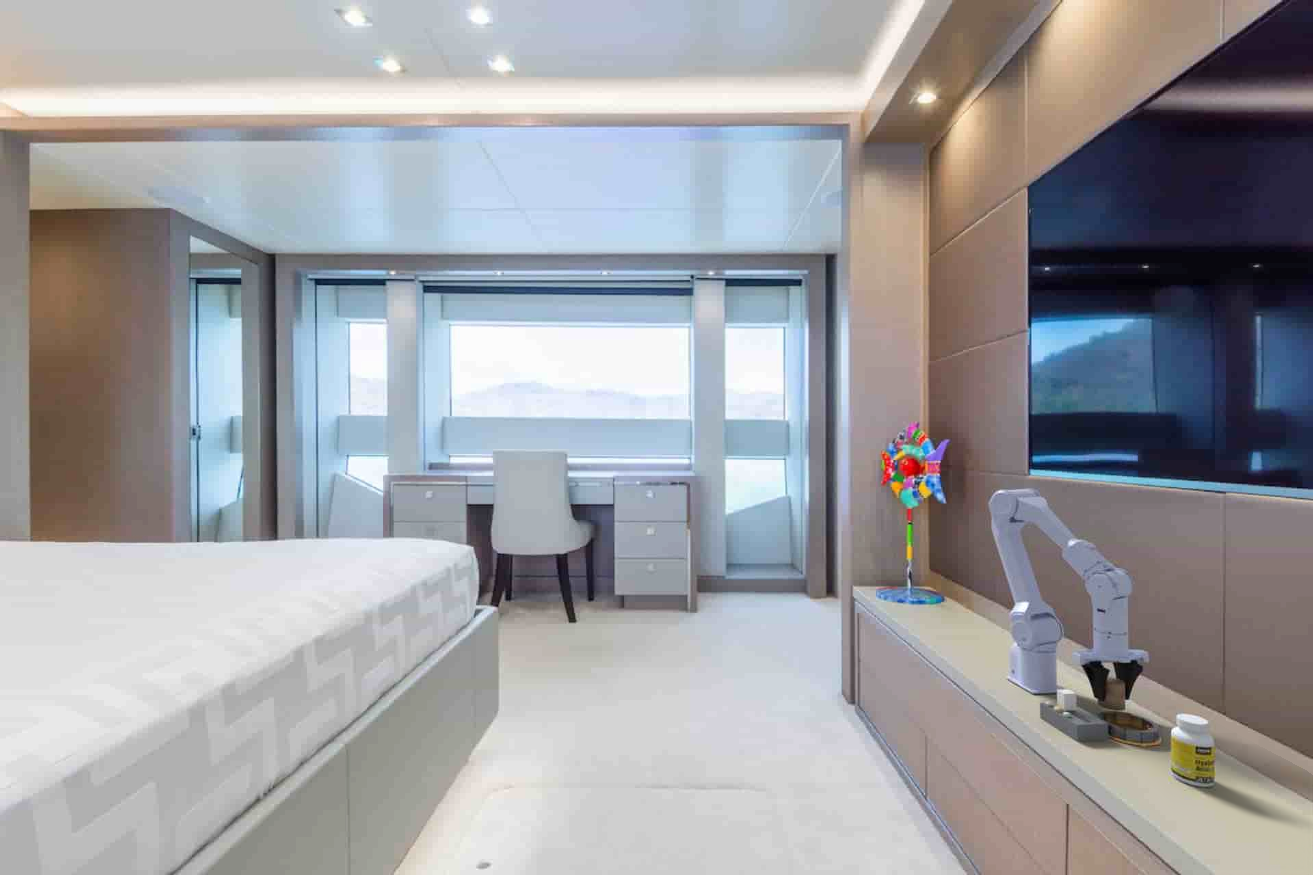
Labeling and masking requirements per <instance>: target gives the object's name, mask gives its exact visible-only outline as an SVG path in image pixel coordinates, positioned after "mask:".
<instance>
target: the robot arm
mask: <svg viewBox="0 0 1313 875" xmlns="http://www.w3.org/2000/svg"><path fill="white" fill-rule="evenodd" d="M987 505H988V508H989V511H990V515H991V532H992V535H993V538H994V541H995V544H996V548H997V551H998V553H999V557H1000V561H1001V563H1002V566H1003V570H1004V572H1005V576H1006V579H1007V581H1008V586H1009V589H1010V592H1011V595H1012V597H1013V601H1014V606H1013V608H1012V610H1011V611H1010V613H1009V619H1010V634H1011V636H1012V639H1013V641H1014V643H1012V645H1011V647H1010V650H1009V675H1007V676H1006V679H1007V680H1008V681H1010V682H1013V683H1014V684H1016V685H1017V686H1019V687H1020V688H1022V689H1024V690H1025V691H1027V692H1029V693H1031V694H1034V695H1035V694H1036V695H1037V694H1057V690H1066V688H1064V687H1061V686H1060V685H1058V674H1057V673H1058V672H1057V670H1058V669H1057V668H1058V667H1057V664H1058V662H1057V661H1058V660H1057V648H1058V647H1059V642H1061V641H1062V639H1063V638H1064V635H1065V629H1064V626H1063V624H1062V622H1061V621H1060V620H1059V618H1058V617H1057V615H1056V614H1055V611H1054V608H1053V607H1052V606H1050V605H1049V604H1048V603H1047V602H1045V601H1043V599H1042V595H1041V592H1040V589H1039V585H1038V583H1037V580H1036V578H1035V575H1034V572H1033V569H1032V565H1031V562H1030V559H1029V556H1028V553H1027V550H1026V547H1025V544H1024V541H1023V538H1022V535H1021V531H1022V529H1023V527H1024V526H1025V525H1026V524H1027V523H1033V524H1035V525H1036V526H1037V527H1038V528H1039V529H1041V530H1042V532H1043V533H1044V534H1046V535H1047V536H1048V538H1050V539H1051V540H1052V541H1053V542H1054V543H1055V544H1056V545H1058V547H1060V548H1061V549H1062V550H1061V551H1062V553H1061V555H1062V558H1063V559H1064V561H1066V563H1068V565H1070V567H1071V568H1072V569H1073V570H1074V571H1075V572H1076V573H1077V574H1078V576H1080V577H1081V578H1082V579H1083V580H1084V581H1085V583H1084V584H1085V589H1086V592H1087V593H1088V595H1089V596H1090V598H1091V604H1092V626H1093V627H1092V632H1093V633H1092V635H1093V636H1092V637H1093V638H1092V639H1093V641H1092V645H1093V648H1090V649H1085V650H1081V651H1073V652H1072V662H1073V663H1076V664H1078V665H1079V666H1081V668H1082V670H1083V671H1084V673H1085V674H1086V677H1087V679H1088V682H1089V684H1090V688H1091V690H1092V693H1093V697H1094V698H1095V699H1096V700H1097V701H1098V700H1100V701H1105V698H1106V682H1107V678H1108V677H1109V675H1110V672H1111V670H1110V669H1109V668H1107V667H1104V665H1103V664H1104V663H1107V664H1108V663H1112V665H1113V668H1114V670H1113V671H1114V673H1115V678H1117V679H1120V680H1122V681H1124V682H1125V701H1129V700H1130V696H1131V693H1132V690H1133V688H1134V685H1135V683H1136V681H1137V679H1138V677H1139V676H1140V675H1141V674H1142V673H1143V672H1144V671H1143V670H1144V666H1143V665H1142V664H1140V663H1138V662H1142V663H1149V662H1150V653H1149V651H1145V650H1142V649H1129V605H1128V604H1129V598H1128V597H1130V596H1131V595H1133V592H1134V590H1135V583H1134V582H1135V581H1134V580H1133V578H1132V576H1131V575H1130V574H1129V572H1128V571H1127V570H1125V569H1122V568H1117V567H1115V565H1114V564H1113V563H1111V561H1108V560H1107V559H1106V558H1104V556H1103V555H1101V553H1100V552H1099V551H1097V550H1096V549H1097V548H1096V545H1095V544H1094V543H1093V542H1088V541H1087V540H1085V539H1078V538H1077V537H1075V535H1074V534H1073V533H1072V532H1071V531H1070V530H1069V529H1068V528H1067V526H1066V525H1065V524H1064V523H1063V521H1062V520H1060V519H1059V518H1058V516H1057V515H1056V514H1055V513H1054V512H1053V510H1052V509H1051V508H1050V507H1049V506H1048V501H1047V499H1045V497H1043V496H1041V495H1040V493H1039V492H1038V491H1037V490H1035V489H1034V488H1023V489H1021V488H1020V489H1007V490H1006V489H998V490H996V491H995V492H993V494H992V496H991V498H990V500H989V501H988V503H987Z"/></svg>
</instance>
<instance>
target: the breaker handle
mask: <svg viewBox="0 0 1313 875" xmlns="http://www.w3.org/2000/svg"><path fill="white" fill-rule="evenodd" d="M1065 689H1066V688H1065ZM1056 702H1057V707H1061V708H1062V709H1063V710H1064V711H1068V710H1076V706H1077V693H1076V692H1074V691H1073V690H1071V689H1066V690H1057V693H1056Z"/></svg>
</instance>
